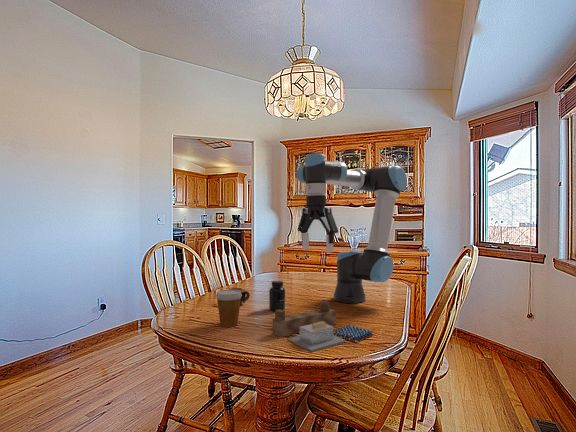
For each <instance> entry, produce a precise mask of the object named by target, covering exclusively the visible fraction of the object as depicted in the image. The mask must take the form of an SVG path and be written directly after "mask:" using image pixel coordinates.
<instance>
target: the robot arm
mask: <svg viewBox="0 0 576 432" xmlns="http://www.w3.org/2000/svg"><path fill="white" fill-rule="evenodd" d="M304 163H305V164H304V165H301V166H299V167H297V170H296V178H297V181H299V182H300V183H302V184H303V183H304V184H305V194H306V195H307V196H306V197H305V198H306V199H305V201H306V203H305V204H306V206H308V207H303V208H302V210H301V211H302V212H301V217H300V220H299V223H298V227H297V231H298V232H300V233H301V241H302V242H301V243H302V251H303V250H304V251H306V250H309V249H310V243H309V242H310V238H309V237H310V236H309V233H310V232H309V229H310V227H311V226H312V223H313V222H314V221H315V220H318V221H320V223H321V225H322V226H323V228H324V230H325V232H326V234H325V243H326V244H325V245H326V254H330V253H334V243H335V234H337V233H339V229H338V227H337V224H336V221H335V218H334V215H333V211H332V210H333V209H332V207H325V206H326V205H327V196H326V194H327V185H332V186H342V187H350V188H351V189H353V190H357V191H358V190H359V191H363V192H370V193H374V194H375V196H376V199H375V202H374V203H375V204H374V208H373V209H374V211H373V215H372V222H371V227H370V232H369V238H368V244H367V246H366V247H365V248H363V251H362V250H350V251H349V250H347V251H340V252H338V253H337V257H336V258H337V260H336V272H337V273H336V277H337V278H336V286H335V289H334V293H333V300H334V301H335V302H339V303H343V304H344V303H346V304H359V303H364V302H366V301H367V300H366V296H367V295H366V293H365V290H364V286H363V281H367V282H373V283H385V282H387V281H388V280H390V278H391V276H392V275H393V272H394V267H395V265H394V261H393V258H391V253H390V252H389V251H388V249H389V248H388V245H389V241H390V240H389V239H390V235H391V234H390V233H391V229H392V222H393V217H394V216H393V215H394V211H395V205H396V199H398V198H399V197H400V195H401V192H403V191H405V190H406V188H407V187H408V177H407V174H406V171H405V170H404V169H403V167H401V166H400V165H390V166H380V167H371V168H365V169H354V170H350V169H348V166H347V165H346V163H345V162H342V161H339V160H327V159H326V155H325V154H324V153H319V152H318V153H317V152H315V153H309V154H307V155H306V156H305V162H304Z"/></svg>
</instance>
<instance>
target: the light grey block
mask: <svg viewBox="0 0 576 432" xmlns="http://www.w3.org/2000/svg"><path fill="white" fill-rule="evenodd" d="M333 331H334V325H328V324H326V322H323V321H321V322H317V323H313V324H310V325H306V326H301V327H300V333H299V336H300V340H302V341H304V342H306V343H308V344H311V345H313V344H317V343H321V342H324V341H328V340H332V339H333V335H334V334H333V333H334V332H333Z"/></svg>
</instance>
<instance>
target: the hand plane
mask: <svg viewBox="0 0 576 432" xmlns="http://www.w3.org/2000/svg"><path fill="white" fill-rule="evenodd" d="M319 305H320V309H316V310H311V311H306V312H301V313H295V314H289V315H286V311H285V310H280V309H279V310H275V311H274V318H272V335H274V336H276V337H278V338H283V337H287V336H291V335H294V334H295V335H296V334H300V327H301V326H306V325H310V324H313V323H317V322H321V321H323V322H326V324H328V325H331V326H334V325H336V324H337V310H335V309H332V308H330V302H329V301H327V300H326V301H320V304H319ZM333 324H334V325H333Z"/></svg>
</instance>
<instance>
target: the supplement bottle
mask: <svg viewBox="0 0 576 432" xmlns="http://www.w3.org/2000/svg"><path fill="white" fill-rule="evenodd" d="M268 292H269V295H268V297H269V299H268V308H269V310H270V311H272V312H275V310H279V309H280V310H283V311H285V310H286V288H285V287H284V281H282V280H271V287H270V288H269V290H268Z"/></svg>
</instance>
